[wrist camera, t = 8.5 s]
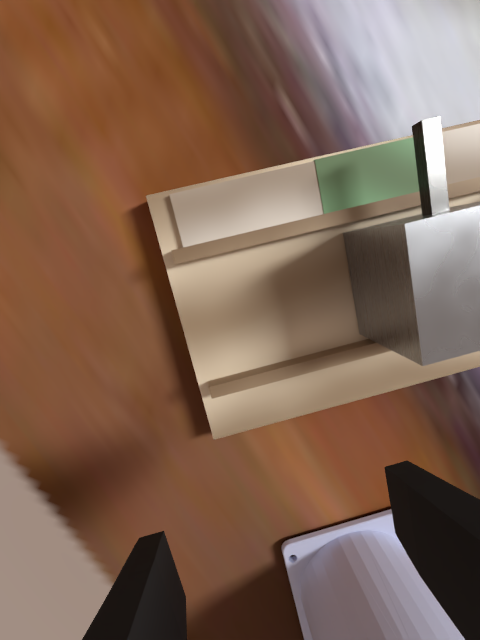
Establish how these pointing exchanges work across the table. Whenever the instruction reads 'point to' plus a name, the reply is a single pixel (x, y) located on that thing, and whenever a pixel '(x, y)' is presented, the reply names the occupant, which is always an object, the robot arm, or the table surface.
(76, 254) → the table surface
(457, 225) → the gauge carriage
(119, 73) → the table surface
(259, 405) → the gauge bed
